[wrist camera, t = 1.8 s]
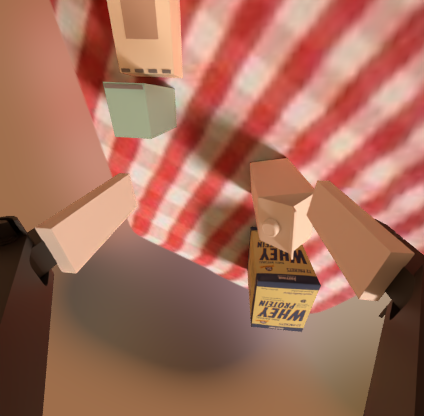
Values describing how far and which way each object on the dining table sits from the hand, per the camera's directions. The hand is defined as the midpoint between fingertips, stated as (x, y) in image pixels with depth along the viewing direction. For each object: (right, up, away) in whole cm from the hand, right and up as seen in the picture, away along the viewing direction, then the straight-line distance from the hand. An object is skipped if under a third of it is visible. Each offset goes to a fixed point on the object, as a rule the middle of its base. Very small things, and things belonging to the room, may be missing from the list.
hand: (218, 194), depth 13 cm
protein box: (+14, -12, +34) cm, 39 cm away
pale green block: (-9, +17, +19) cm, 28 cm away
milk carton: (+11, +5, +24) cm, 27 cm away
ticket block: (-9, +26, +14) cm, 31 cm away
